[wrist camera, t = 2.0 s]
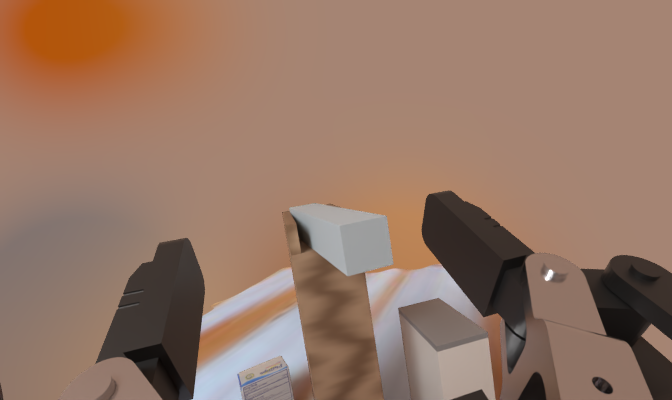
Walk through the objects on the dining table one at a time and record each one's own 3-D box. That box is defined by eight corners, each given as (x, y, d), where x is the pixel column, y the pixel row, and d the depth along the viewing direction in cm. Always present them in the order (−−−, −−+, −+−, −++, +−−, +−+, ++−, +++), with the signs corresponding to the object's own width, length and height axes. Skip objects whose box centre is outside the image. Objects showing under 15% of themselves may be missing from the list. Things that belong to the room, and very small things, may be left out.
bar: (347, 276, 21) (339, 225, 21) (293, 233, 42) (289, 207, 41) (393, 264, 22) (386, 215, 22) (318, 228, 43) (314, 203, 43)
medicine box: (289, 398, 56) (281, 354, 56) (297, 414, 52) (288, 366, 52) (245, 419, 53) (236, 372, 52) (250, 437, 49) (240, 386, 48)
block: (459, 520, 33) (436, 346, 32) (417, 444, 43) (398, 308, 42) (507, 501, 35) (487, 332, 33) (456, 431, 44) (438, 298, 43)
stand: (341, 549, 32) (285, 225, 30) (321, 441, 46) (282, 212, 43) (402, 525, 34) (355, 212, 31) (365, 426, 48) (330, 203, 45)
